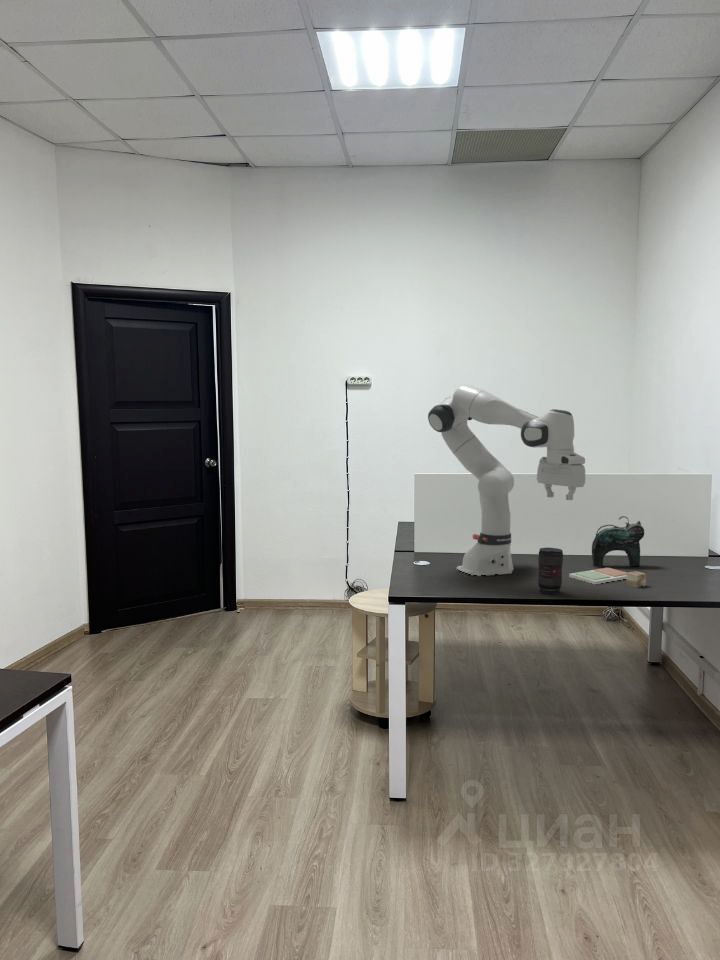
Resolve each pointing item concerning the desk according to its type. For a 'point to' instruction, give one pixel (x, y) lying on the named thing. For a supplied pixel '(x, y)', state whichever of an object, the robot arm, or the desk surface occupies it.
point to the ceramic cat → (618, 542)
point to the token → (636, 579)
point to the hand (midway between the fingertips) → (559, 498)
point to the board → (600, 575)
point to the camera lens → (550, 570)
